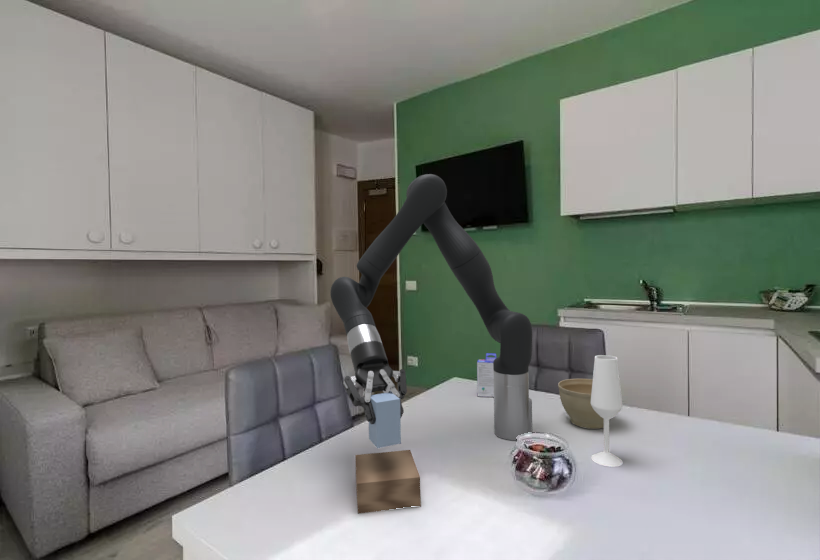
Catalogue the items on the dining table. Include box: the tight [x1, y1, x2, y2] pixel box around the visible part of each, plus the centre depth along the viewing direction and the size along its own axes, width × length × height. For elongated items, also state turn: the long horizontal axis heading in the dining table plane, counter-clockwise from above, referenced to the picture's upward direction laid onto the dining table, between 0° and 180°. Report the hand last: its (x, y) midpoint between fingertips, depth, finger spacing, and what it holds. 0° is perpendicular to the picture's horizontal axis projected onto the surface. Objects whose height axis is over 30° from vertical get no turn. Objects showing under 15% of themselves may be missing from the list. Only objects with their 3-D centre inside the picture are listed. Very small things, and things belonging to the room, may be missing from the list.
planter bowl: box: [557, 378, 604, 430], centre depth 118 cm, size 16×16×11 cm
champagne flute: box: [590, 354, 624, 468], centre depth 96 cm, size 7×7×24 cm
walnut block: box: [354, 449, 422, 514], centre depth 84 cm, size 12×12×6 cm
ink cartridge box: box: [476, 352, 497, 398], centre depth 145 cm, size 10×6×14 cm, turn 78°
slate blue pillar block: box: [368, 392, 402, 449], centre depth 84 cm, size 5×5×9 cm
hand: (386, 419), depth 83 cm, fingers closed on slate blue pillar block, 5 cm apart
